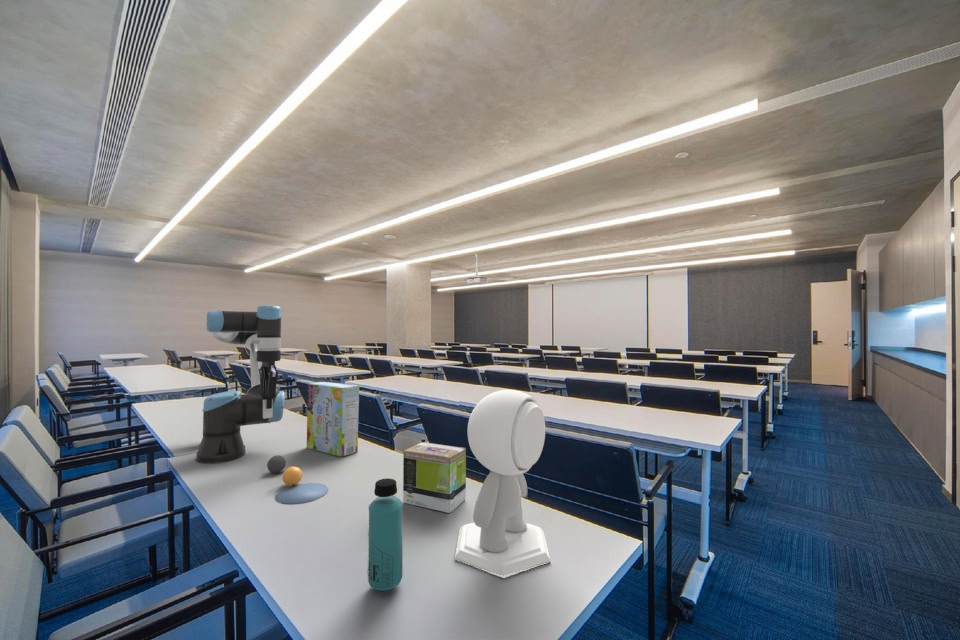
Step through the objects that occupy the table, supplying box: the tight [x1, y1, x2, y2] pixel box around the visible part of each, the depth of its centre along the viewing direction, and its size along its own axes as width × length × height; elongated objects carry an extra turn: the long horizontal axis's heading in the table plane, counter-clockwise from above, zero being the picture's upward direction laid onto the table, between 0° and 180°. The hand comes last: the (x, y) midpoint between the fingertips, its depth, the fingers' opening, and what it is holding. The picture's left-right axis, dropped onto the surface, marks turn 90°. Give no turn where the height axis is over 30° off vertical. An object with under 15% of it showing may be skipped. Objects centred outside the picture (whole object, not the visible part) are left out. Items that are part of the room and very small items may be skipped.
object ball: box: [281, 466, 303, 487], centre depth 121 cm, size 6×6×6 cm
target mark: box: [274, 482, 329, 505], centre depth 115 cm, size 14×14×1 cm
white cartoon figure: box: [454, 389, 551, 576], centre depth 89 cm, size 20×23×35 cm
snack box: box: [306, 381, 360, 458], centre depth 155 cm, size 22×9×26 cm, turn 58°
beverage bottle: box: [367, 478, 404, 592], centre depth 74 cm, size 6×7×20 cm
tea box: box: [402, 441, 467, 514], centre depth 111 cm, size 15×10×15 cm
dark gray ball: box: [266, 454, 287, 474], centre depth 131 cm, size 6×6×6 cm
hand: (267, 417), depth 138 cm, fingers closed
